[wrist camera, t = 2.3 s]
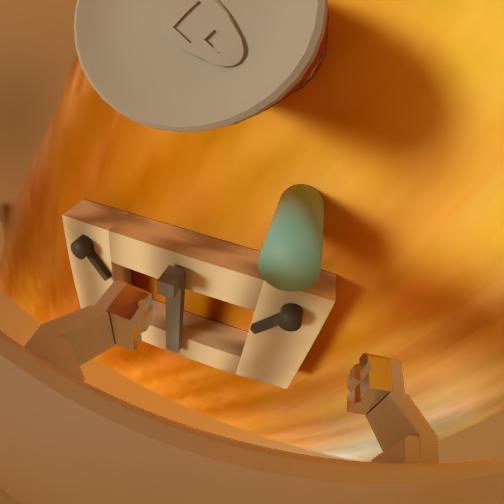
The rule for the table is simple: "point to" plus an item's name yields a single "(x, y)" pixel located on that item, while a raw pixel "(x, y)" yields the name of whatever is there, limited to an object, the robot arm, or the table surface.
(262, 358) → the shelf
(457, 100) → the table surface
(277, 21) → the canned food
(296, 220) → the pale green rounded block
